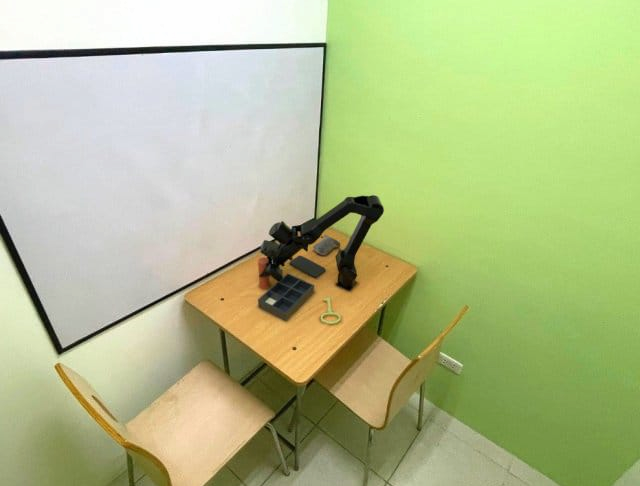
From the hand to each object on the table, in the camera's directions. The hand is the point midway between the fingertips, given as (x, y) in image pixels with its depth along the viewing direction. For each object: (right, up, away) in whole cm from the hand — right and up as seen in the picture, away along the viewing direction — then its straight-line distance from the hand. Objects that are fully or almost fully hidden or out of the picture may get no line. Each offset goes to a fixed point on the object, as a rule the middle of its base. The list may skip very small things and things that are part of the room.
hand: (260, 272), depth 143 cm
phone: (+18, +2, +15) cm, 23 cm away
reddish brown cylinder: (+1, -5, +4) cm, 7 cm away
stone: (+25, +11, +26) cm, 38 cm away
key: (+27, -15, -6) cm, 31 cm away
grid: (+10, -10, -1) cm, 15 cm away
